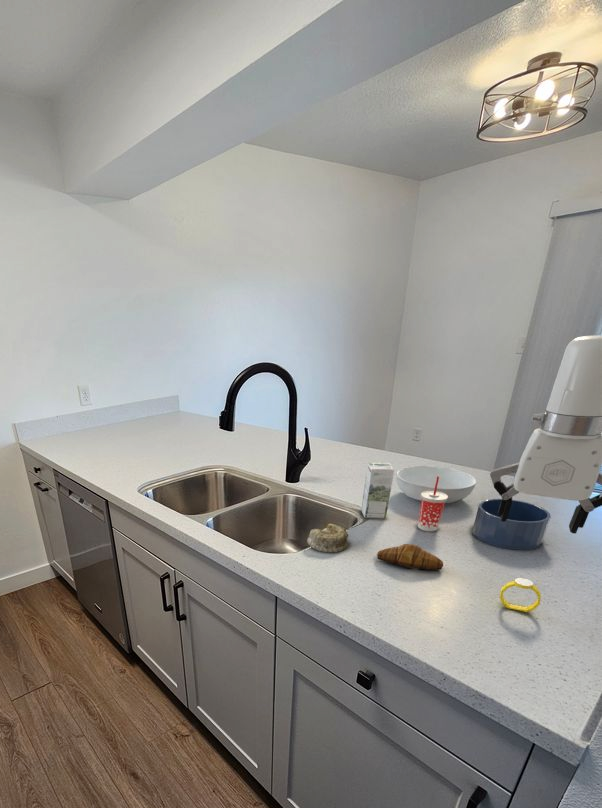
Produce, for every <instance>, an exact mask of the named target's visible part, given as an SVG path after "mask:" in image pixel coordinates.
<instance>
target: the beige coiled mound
mask: <svg viewBox="0 0 602 808" xmlns="http://www.w3.org/2000/svg"><path fill="white" fill-rule="evenodd" d="M348 537H349V532H348V531H347V530H346V529H345V528H344V526H343V527H342V526H340V525H337V524H335V523H328V524H327V525H326V528H323V529H319V528H313V529H311V530H310V532H309V534H308V537H307V539H306V540H307V541H306V543H307V545H308V546H309V547H310V548H312V549H315V550H316V551H319V552H324V553H338V552H341V551H344V550H346V549H347V548H348V547H349V541H348Z"/></svg>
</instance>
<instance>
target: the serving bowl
mask: <svg viewBox="0 0 602 808" xmlns="http://www.w3.org/2000/svg"><path fill="white" fill-rule="evenodd" d="M437 476H439V480H438V485H437V490H436V492H441V493H444V494H446V495H447V496H448V499H447V501H446V502H445V504H450V503H456V502H459V501H462V500H464V499H465V498H467V497H468V496H469V495H471V494H472V492H473V490H474V489H475V487H476V485H477V479H476V478H475V477H474V476H473V475H471V474H469V473H467V472H464V471H462V470H458V469H455V468H450V467H446V466H437V465H412V466H407V467H403V468H401V469H398V471H396V476H395V477H396V478H395V479H396V485H397V486H398V489H399V490H400V491H401V492H402V493H403V494H404V495H405V496H407V497H408V498H411V499H413V500H417V501H420V502H421V498H420V497H421V493H422V492H425V491H434V489H435V484H436V480H437Z"/></svg>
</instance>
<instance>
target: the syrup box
mask: <svg viewBox="0 0 602 808" xmlns="http://www.w3.org/2000/svg"><path fill="white" fill-rule="evenodd" d="M394 475H395V469H394V467H393V466H392V464H391V463H390V462H368V463H367V466H366V475H365V482H364V489H363V496H362V503H361V509H360V510H361V512H362V515H363V518H364V519H376V520H377V519H378V520H380V519H381V520H385V519H387V515H388V509H389V503H390V496H391V492H392V486H393V480H394Z"/></svg>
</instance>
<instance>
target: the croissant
mask: <svg viewBox="0 0 602 808" xmlns="http://www.w3.org/2000/svg"><path fill="white" fill-rule="evenodd" d="M376 558H377V560H379V561H381V562H383V563H386V564H390V565H396V566H400V567H403V568H406V569H415V570H420V569H421V570H425V571H438V570H442V569H443V567H444V561H443V560H442V559H440V557H437V556H436V555H434V554H432V553H431V552H429V551H426V550H424V549H423V548H422V547H421V546H419V545H416V544H413V543H407V544H406V543H404V544H402V545H398V546H392V547H387V548H383V549H381V550H379V551H378V552H377V553H376Z"/></svg>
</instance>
